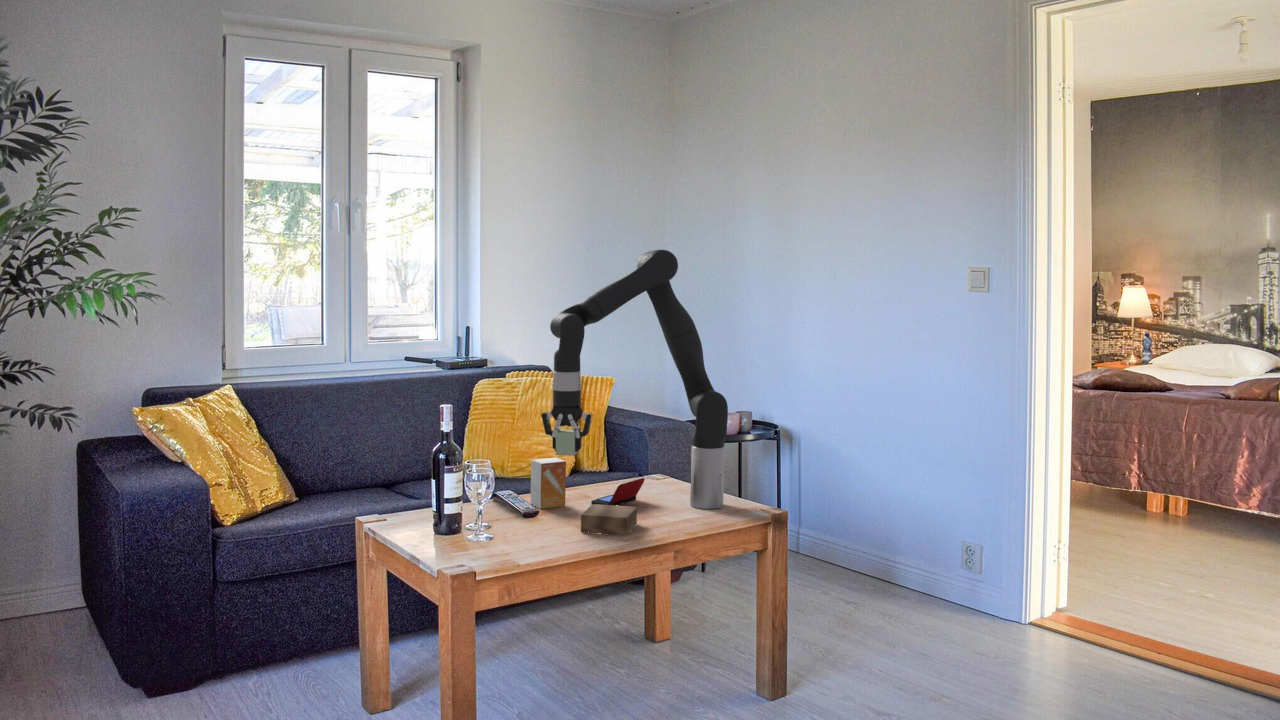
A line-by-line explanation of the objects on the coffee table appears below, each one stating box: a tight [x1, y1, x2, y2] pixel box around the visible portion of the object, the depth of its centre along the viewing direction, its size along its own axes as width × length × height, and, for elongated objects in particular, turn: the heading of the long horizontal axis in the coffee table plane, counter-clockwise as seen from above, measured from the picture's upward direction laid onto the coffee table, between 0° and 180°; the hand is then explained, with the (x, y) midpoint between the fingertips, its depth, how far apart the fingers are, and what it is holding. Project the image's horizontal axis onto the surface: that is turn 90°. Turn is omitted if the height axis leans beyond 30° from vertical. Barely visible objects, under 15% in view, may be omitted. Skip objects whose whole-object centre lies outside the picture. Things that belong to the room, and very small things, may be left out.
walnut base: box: [580, 504, 638, 537], centre depth 258 cm, size 12×12×5 cm
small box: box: [530, 456, 567, 510], centre depth 281 cm, size 8×6×13 cm
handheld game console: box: [590, 477, 646, 506], centre depth 286 cm, size 12×11×7 cm
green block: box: [555, 429, 579, 457], centre depth 267 cm, size 5×5×6 cm
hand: (566, 450), depth 267 cm, fingers closed on green block, 5 cm apart
